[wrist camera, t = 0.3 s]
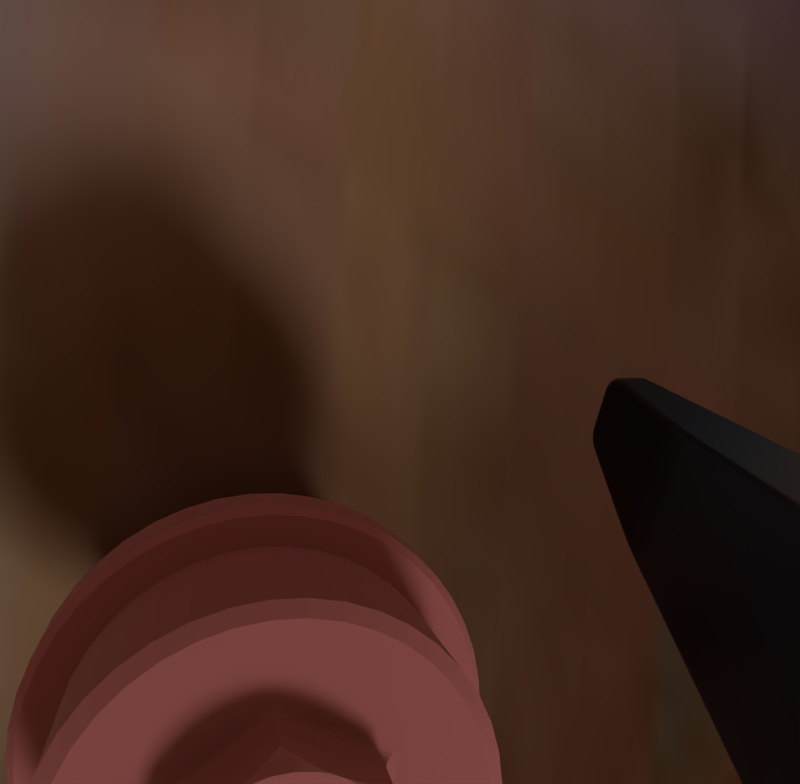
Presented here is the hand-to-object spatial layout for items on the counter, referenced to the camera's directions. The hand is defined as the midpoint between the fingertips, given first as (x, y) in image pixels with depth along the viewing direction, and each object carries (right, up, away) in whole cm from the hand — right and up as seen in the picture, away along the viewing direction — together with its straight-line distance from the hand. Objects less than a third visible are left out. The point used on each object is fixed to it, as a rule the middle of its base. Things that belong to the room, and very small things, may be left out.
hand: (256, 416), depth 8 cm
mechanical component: (-4, -6, +15) cm, 16 cm away
